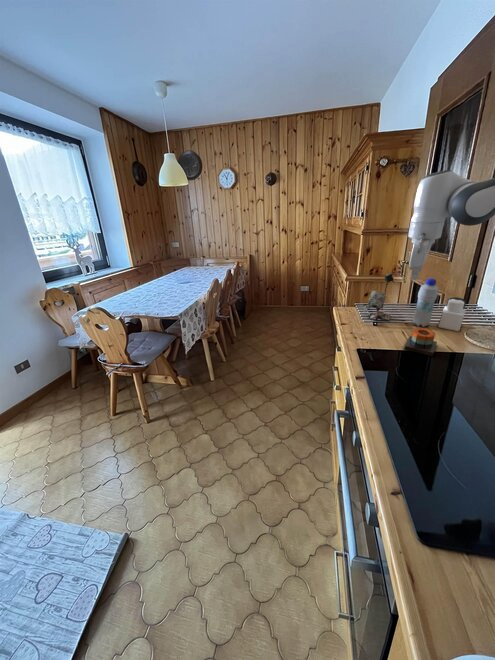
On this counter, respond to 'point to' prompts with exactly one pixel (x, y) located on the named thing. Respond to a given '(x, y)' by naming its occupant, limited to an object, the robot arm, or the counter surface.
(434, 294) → the bottle
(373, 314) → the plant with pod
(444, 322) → the medicine bottle
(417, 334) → the orange ring
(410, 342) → the charcoal ring
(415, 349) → the spindle
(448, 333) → the counter surface
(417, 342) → the sage ring
